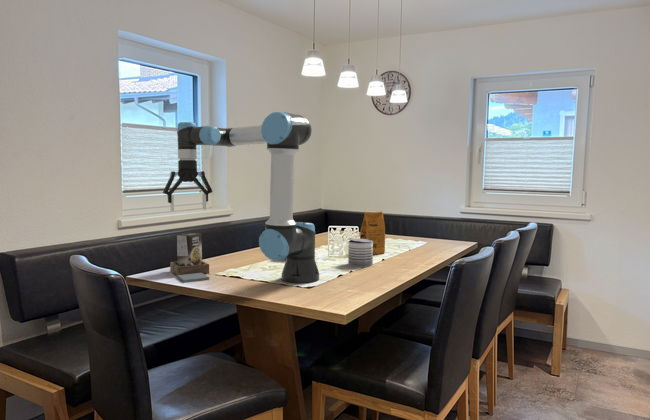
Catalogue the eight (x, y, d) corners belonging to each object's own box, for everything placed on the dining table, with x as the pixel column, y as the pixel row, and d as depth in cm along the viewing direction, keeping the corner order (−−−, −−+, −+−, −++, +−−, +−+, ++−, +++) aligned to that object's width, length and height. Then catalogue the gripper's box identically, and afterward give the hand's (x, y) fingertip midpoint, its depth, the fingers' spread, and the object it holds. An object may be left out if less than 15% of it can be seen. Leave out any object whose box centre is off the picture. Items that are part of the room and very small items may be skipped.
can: (348, 262, 231) (348, 237, 230) (372, 262, 231) (372, 237, 230) (348, 266, 220) (348, 240, 219) (373, 267, 219) (373, 240, 218)
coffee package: (357, 252, 259) (358, 211, 257) (379, 251, 262) (379, 210, 260) (364, 255, 249) (364, 212, 247) (386, 254, 253) (387, 212, 251)
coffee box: (189, 274, 202) (188, 235, 200) (177, 273, 204) (176, 235, 203) (202, 270, 210) (202, 233, 209) (190, 268, 213) (189, 232, 211)
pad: (209, 279, 194) (209, 277, 194) (184, 282, 189) (183, 280, 189) (201, 274, 202) (201, 272, 202) (177, 277, 197) (177, 275, 197)
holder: (209, 273, 205) (209, 264, 205) (178, 277, 198) (177, 267, 198) (200, 268, 216) (199, 259, 216) (170, 271, 209) (170, 262, 209)
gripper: (213, 160, 213) (214, 208, 215) (154, 159, 200) (156, 210, 202) (219, 159, 207) (220, 209, 208) (158, 159, 194) (160, 212, 195)
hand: (188, 210), depth 205 cm, fingers open, 13 cm apart
